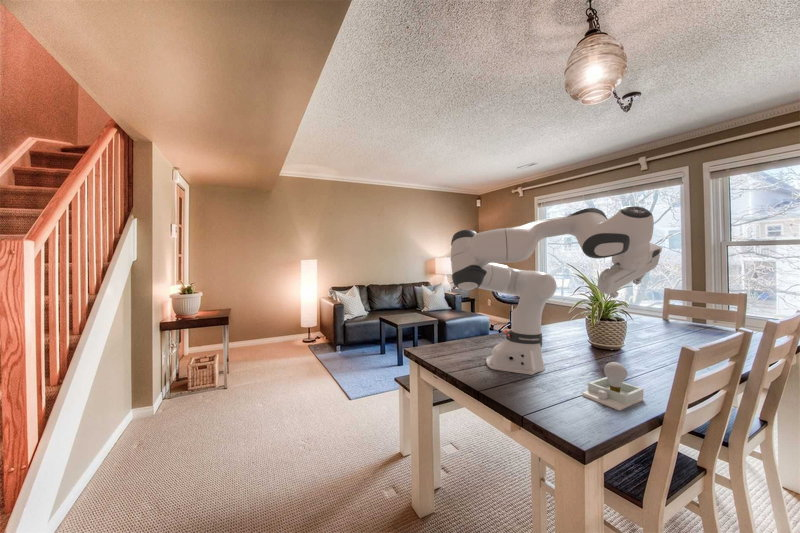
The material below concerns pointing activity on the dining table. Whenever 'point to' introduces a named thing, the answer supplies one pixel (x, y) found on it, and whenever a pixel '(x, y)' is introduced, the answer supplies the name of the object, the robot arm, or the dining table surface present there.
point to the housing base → (613, 394)
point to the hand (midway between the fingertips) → (625, 289)
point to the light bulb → (615, 375)
